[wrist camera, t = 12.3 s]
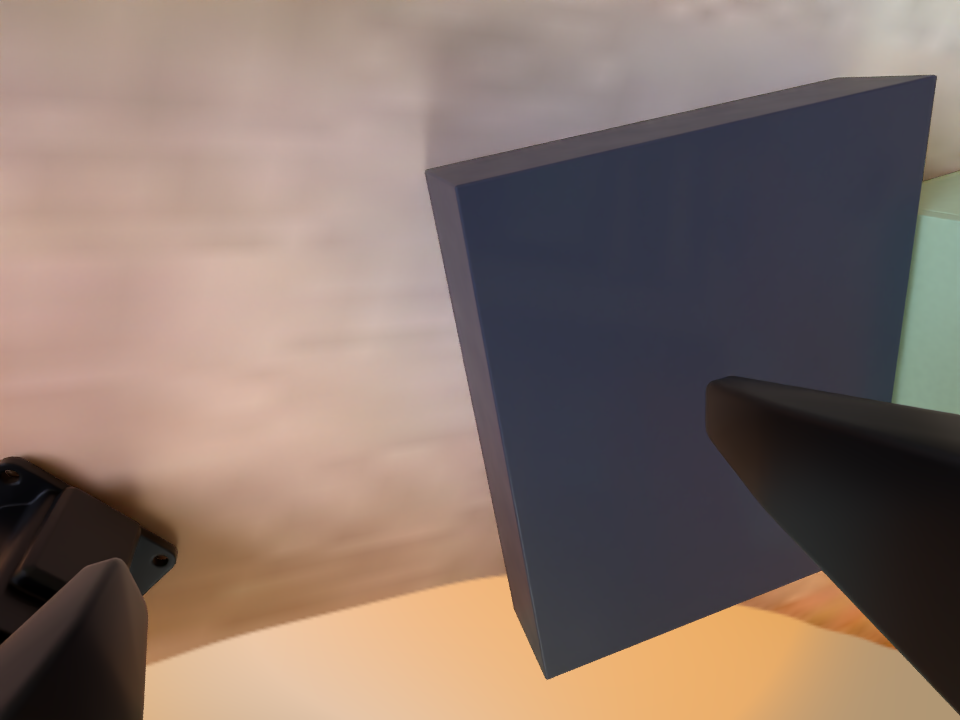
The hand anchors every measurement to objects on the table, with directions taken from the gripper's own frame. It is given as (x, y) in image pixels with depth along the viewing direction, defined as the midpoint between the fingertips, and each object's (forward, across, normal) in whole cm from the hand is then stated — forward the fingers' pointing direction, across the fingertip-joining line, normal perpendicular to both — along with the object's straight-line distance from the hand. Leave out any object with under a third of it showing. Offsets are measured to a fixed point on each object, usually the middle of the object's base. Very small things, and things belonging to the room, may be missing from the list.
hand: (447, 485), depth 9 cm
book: (+13, -11, +7) cm, 18 cm away
